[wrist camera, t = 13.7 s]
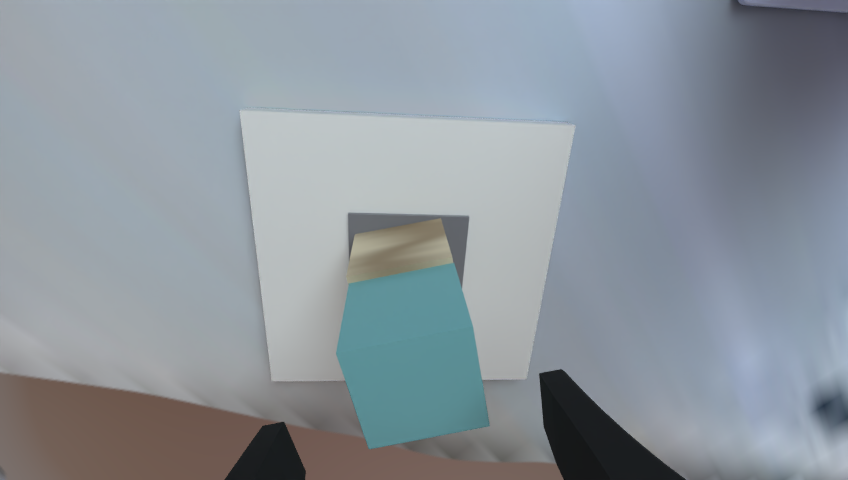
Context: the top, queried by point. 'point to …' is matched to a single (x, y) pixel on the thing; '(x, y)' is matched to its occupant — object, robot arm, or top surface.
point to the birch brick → (398, 250)
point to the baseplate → (401, 220)
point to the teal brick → (411, 357)
